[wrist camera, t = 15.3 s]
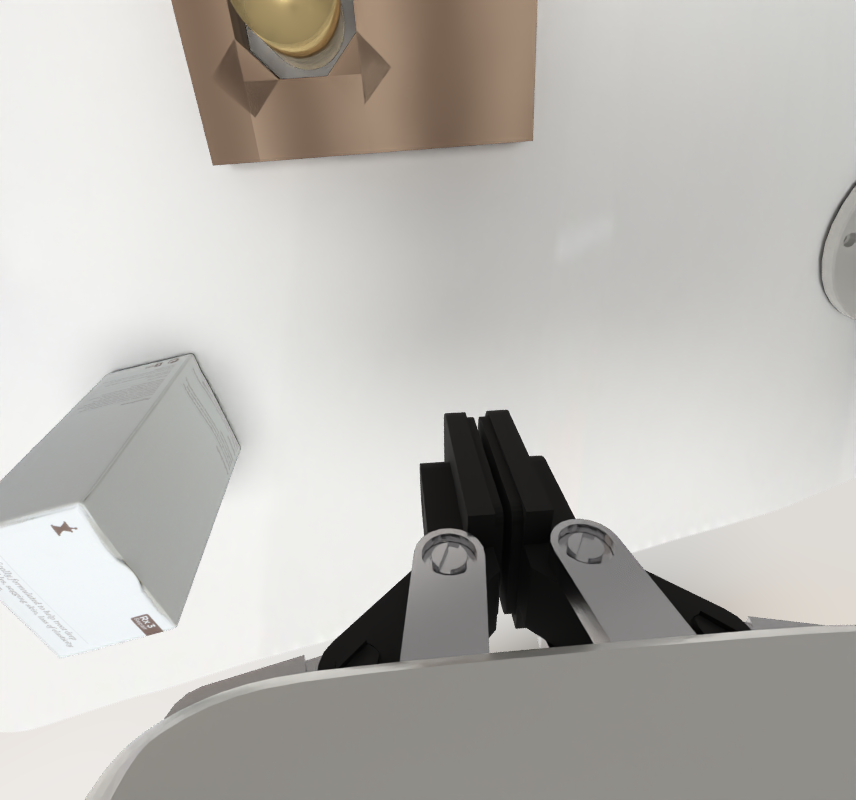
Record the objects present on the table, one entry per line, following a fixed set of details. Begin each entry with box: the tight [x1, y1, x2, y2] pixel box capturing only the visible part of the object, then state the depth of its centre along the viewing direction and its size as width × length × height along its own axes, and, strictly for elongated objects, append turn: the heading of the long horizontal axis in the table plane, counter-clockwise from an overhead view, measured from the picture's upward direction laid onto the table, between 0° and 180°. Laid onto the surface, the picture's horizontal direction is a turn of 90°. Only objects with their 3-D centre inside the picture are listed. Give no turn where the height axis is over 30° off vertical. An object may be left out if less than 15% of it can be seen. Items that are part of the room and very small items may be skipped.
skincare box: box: [0, 354, 241, 658], centre depth 26 cm, size 8×6×15 cm
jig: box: [171, 0, 537, 165], centre depth 22 cm, size 16×12×3 cm
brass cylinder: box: [230, 0, 345, 70], centre depth 20 cm, size 4×4×7 cm
